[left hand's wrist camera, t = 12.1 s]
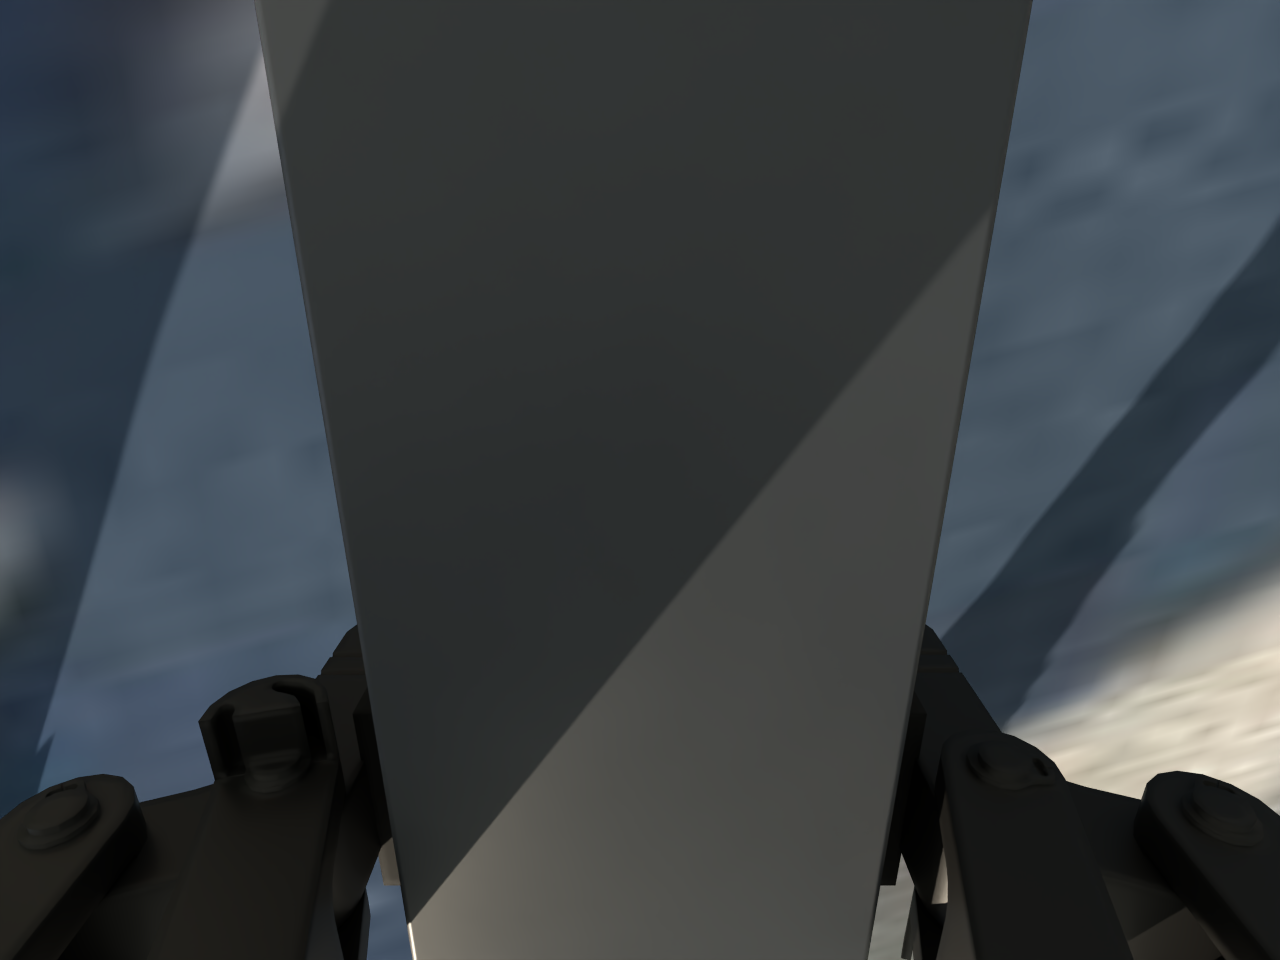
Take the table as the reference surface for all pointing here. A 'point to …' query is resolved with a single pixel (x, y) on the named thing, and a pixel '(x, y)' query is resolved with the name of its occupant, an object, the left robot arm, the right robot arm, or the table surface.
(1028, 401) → the table surface
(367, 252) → the beam
